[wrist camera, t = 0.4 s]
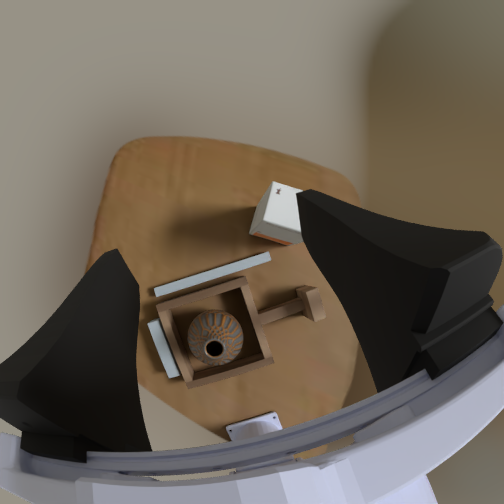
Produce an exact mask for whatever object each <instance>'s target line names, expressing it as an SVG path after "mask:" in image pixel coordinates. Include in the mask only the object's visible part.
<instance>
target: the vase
mask: <svg viewBox="0 0 504 504" xmlns="http://www.w3.org/2000/svg"><path fill="white" fill-rule="evenodd" d="M187 339H188V345H189V348H190V350H191V352H192V353H193V355H194V356H195V357H196V358H197V359H198V360H200V361H201V362H203V363H206V364H209V365H223V364H226V363H228V362H230V361H232V360H233V359H234V358H235V357H236V356H237V355H238V354H239V352H240V350H241V348H242V345H243V331H242V328H241V326H240V324H239V322H238V321H237V320H236V319H235V318H234V317H233V316H232V315H231V314H229V313H227V312H225V311H222V310H208V311H205V312H203V313H201V314H199V315H198V316H197V317H196V318H195V319H194V320H193V321H192V323H191V324H190V327H189V329H188V335H187Z"/></svg>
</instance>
